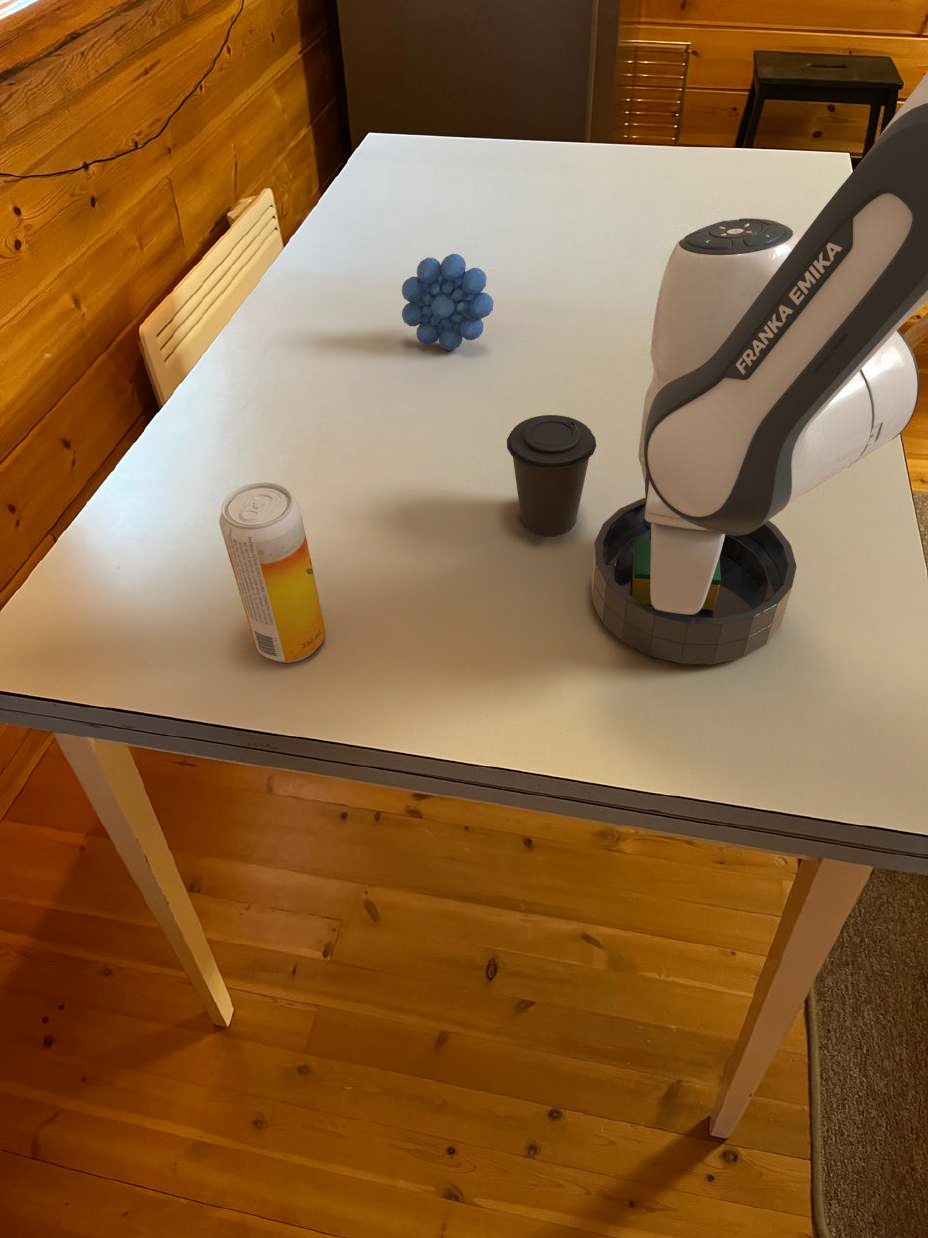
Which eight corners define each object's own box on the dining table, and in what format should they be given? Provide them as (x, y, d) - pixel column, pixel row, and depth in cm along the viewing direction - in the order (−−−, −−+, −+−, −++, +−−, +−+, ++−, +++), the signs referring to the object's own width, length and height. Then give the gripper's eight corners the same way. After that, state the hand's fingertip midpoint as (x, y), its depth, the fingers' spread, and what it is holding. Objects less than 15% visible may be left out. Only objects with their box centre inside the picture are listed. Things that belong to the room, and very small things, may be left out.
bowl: (765, 540, 86) (777, 493, 83) (797, 673, 75) (813, 626, 71) (588, 537, 88) (592, 491, 84) (594, 668, 76) (598, 621, 72)
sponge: (712, 574, 82) (719, 544, 79) (714, 610, 79) (720, 580, 76) (632, 568, 83) (636, 538, 80) (631, 603, 80) (635, 573, 77)
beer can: (338, 624, 81) (311, 486, 70) (307, 674, 77) (274, 536, 66) (275, 610, 82) (240, 473, 72) (243, 658, 78) (200, 521, 68)
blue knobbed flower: (505, 339, 114) (504, 242, 106) (487, 366, 110) (485, 268, 101) (418, 325, 118) (410, 231, 109) (397, 352, 113) (387, 255, 105)
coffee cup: (603, 506, 91) (611, 419, 84) (570, 555, 86) (575, 467, 79) (528, 484, 94) (530, 398, 87) (492, 531, 89) (490, 444, 82)
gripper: (668, 365, 77) (650, 496, 87) (643, 519, 64) (626, 655, 73) (745, 372, 76) (718, 504, 86) (738, 530, 62) (707, 666, 72)
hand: (676, 575), depth 80 cm, fingers closed on sponge, 4 cm apart
